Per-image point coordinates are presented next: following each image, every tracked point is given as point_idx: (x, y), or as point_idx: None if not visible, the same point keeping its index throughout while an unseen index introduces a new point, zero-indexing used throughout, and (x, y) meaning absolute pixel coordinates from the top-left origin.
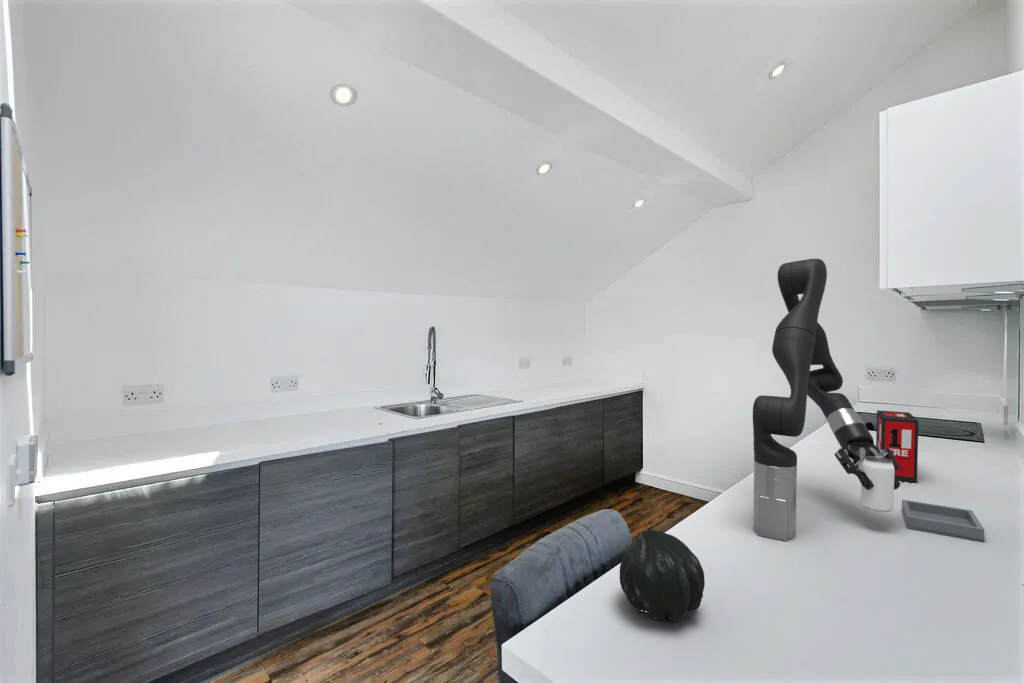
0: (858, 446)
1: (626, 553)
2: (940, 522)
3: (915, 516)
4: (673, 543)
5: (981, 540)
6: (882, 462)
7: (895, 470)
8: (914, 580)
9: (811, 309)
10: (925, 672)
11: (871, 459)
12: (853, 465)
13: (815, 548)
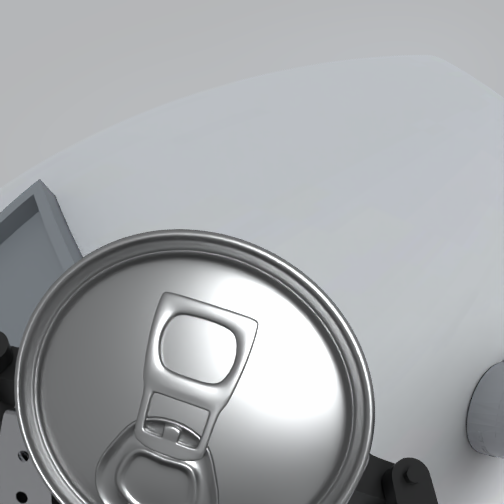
0: None
1: None
2: (68, 250)
3: None
4: None
5: (54, 197)
6: (297, 270)
7: (18, 350)
8: (404, 147)
9: None
10: (494, 91)
11: (227, 490)
12: (406, 493)
13: (484, 310)
